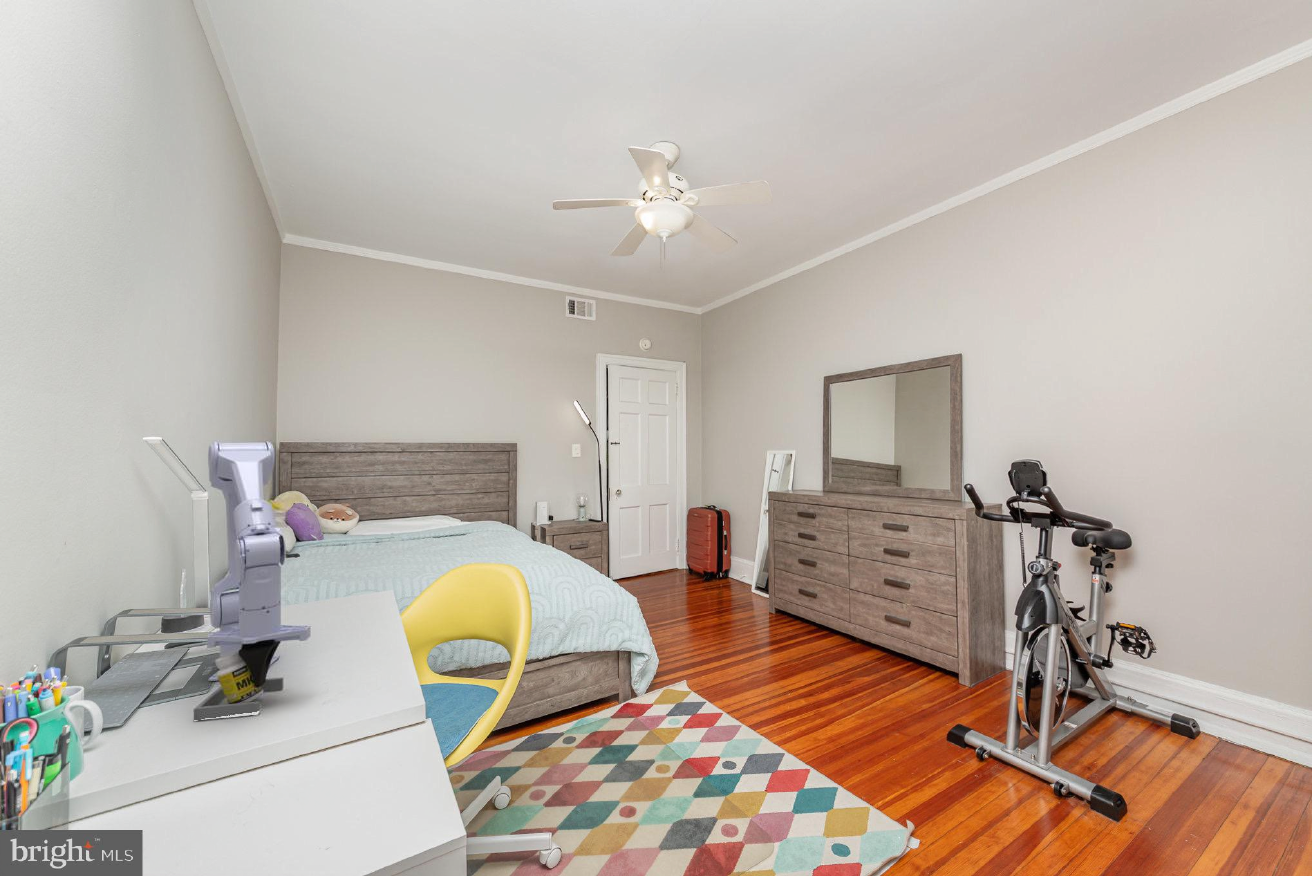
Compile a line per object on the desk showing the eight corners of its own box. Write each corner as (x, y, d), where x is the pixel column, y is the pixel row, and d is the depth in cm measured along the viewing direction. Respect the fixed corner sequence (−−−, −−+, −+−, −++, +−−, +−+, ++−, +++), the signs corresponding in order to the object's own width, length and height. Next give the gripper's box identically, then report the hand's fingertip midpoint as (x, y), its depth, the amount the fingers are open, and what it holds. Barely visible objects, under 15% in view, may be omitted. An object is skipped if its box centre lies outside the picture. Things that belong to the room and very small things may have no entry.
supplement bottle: (244, 706, 87) (225, 659, 86) (223, 711, 88) (204, 664, 87) (270, 688, 91) (252, 643, 91) (250, 693, 93) (232, 649, 92)
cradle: (225, 693, 93) (225, 682, 93) (283, 688, 95) (283, 677, 95) (193, 721, 84) (193, 709, 84) (258, 715, 86) (258, 703, 86)
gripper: (195, 616, 84) (195, 701, 84) (298, 609, 88) (298, 691, 88) (220, 602, 91) (220, 681, 91) (315, 596, 95) (315, 672, 95)
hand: (260, 684), depth 90 cm, fingers closed, pressing on supplement bottle
